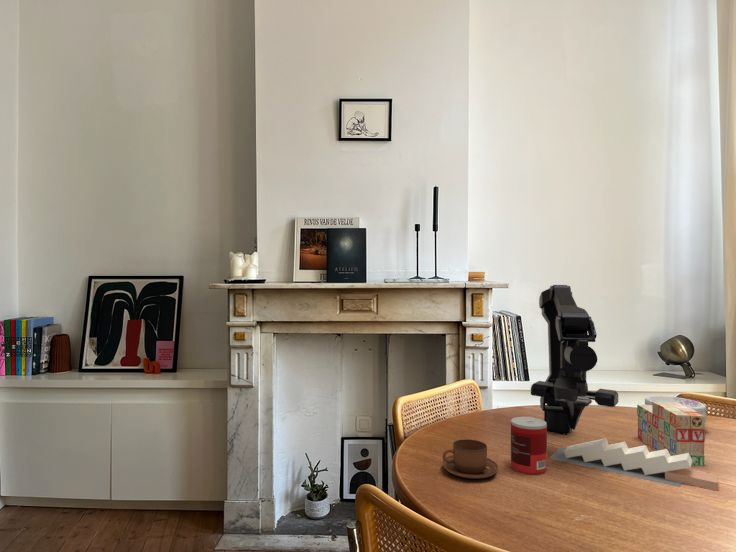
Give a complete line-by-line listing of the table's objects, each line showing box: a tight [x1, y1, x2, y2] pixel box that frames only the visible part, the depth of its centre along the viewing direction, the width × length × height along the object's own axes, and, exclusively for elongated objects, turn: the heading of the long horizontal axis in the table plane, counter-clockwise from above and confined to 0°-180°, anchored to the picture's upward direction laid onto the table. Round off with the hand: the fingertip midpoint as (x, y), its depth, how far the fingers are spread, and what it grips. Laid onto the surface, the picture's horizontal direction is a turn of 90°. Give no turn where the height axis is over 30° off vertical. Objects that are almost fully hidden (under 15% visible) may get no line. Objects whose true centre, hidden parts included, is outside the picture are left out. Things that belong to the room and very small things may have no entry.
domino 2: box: [582, 441, 629, 462], centre depth 112 cm, size 2×5×9 cm
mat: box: [549, 446, 683, 488], centre depth 110 cm, size 26×10×1 cm, turn 53°
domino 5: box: [642, 453, 692, 475], centre depth 104 cm, size 2×5×9 cm
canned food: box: [510, 416, 548, 476], centre depth 108 cm, size 8×8×11 cm
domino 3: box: [601, 444, 650, 466], centre depth 109 cm, size 2×5×9 cm
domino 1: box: [564, 437, 610, 458], centre depth 114 cm, size 2×5×9 cm
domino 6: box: [665, 468, 719, 492], centre depth 102 cm, size 2×5×9 cm
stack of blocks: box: [636, 402, 706, 467], centre depth 121 cm, size 21×6×12 cm, turn 172°
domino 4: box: [621, 449, 670, 471], centre depth 107 cm, size 2×5×9 cm
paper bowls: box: [644, 395, 707, 424], centre depth 142 cm, size 15×15×8 cm
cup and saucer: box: [441, 438, 499, 480], centre depth 107 cm, size 12×12×6 cm
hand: (573, 429), depth 116 cm, fingers closed
